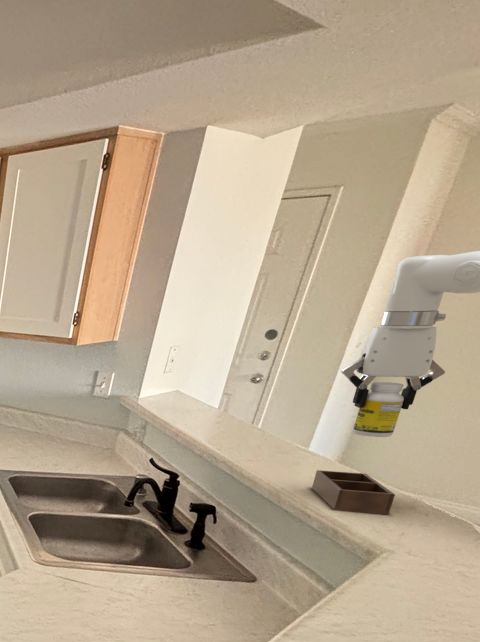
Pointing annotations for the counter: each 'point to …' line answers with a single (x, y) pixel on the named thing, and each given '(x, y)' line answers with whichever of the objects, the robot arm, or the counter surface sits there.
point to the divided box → (352, 492)
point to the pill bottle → (380, 410)
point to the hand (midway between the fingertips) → (380, 406)
